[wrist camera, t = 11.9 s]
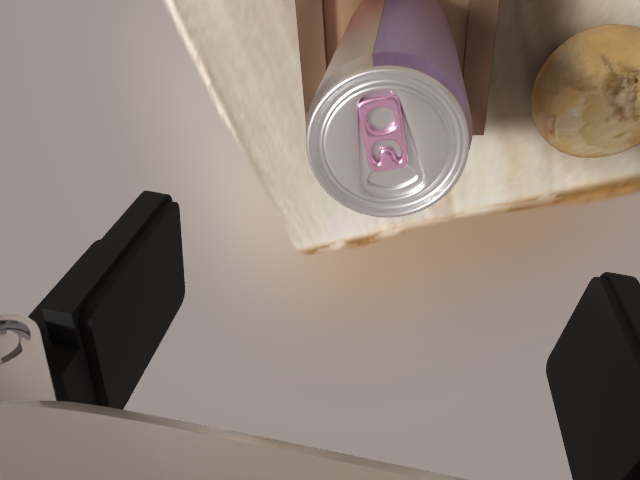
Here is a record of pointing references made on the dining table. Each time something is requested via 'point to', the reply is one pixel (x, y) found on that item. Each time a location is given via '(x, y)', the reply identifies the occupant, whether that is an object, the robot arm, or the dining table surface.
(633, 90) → the onion
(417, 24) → the beverage can
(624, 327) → the robot arm
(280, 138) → the dining table surface
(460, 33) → the walnut box
